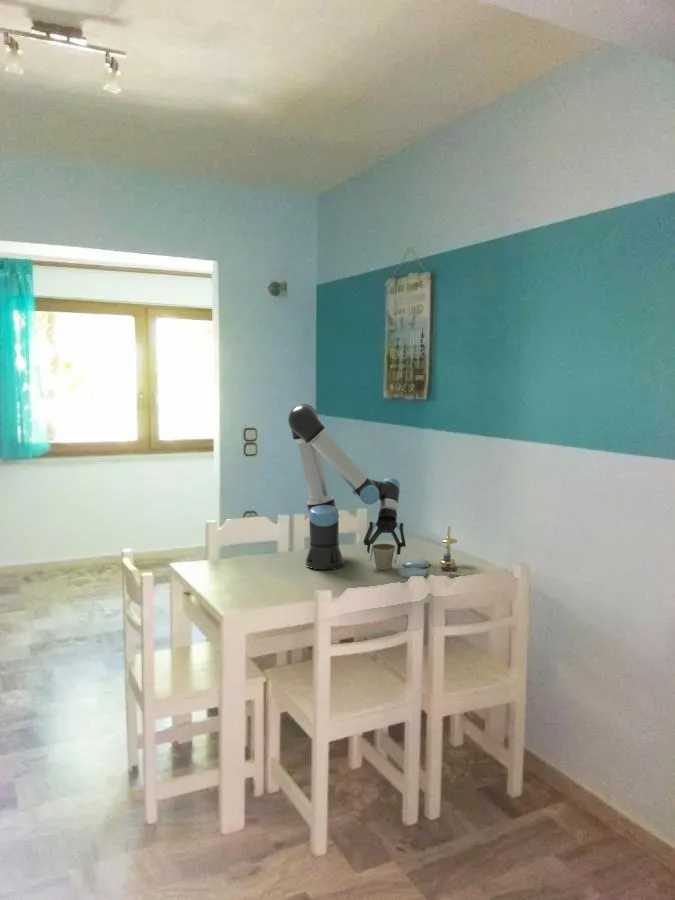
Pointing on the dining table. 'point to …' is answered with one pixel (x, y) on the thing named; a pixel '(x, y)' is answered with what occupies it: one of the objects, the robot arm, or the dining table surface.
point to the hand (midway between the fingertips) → (382, 560)
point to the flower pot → (383, 555)
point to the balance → (448, 553)
